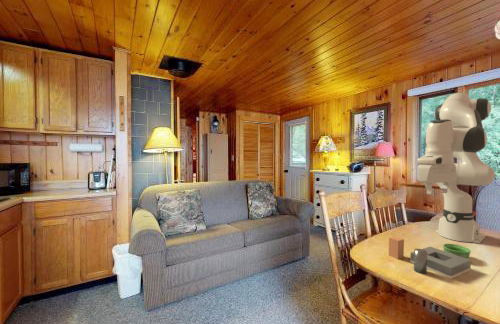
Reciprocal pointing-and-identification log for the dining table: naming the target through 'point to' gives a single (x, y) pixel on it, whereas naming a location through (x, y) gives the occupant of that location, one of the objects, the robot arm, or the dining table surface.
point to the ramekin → (457, 250)
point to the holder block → (445, 262)
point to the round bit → (420, 261)
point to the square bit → (396, 247)
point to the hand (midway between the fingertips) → (437, 193)
